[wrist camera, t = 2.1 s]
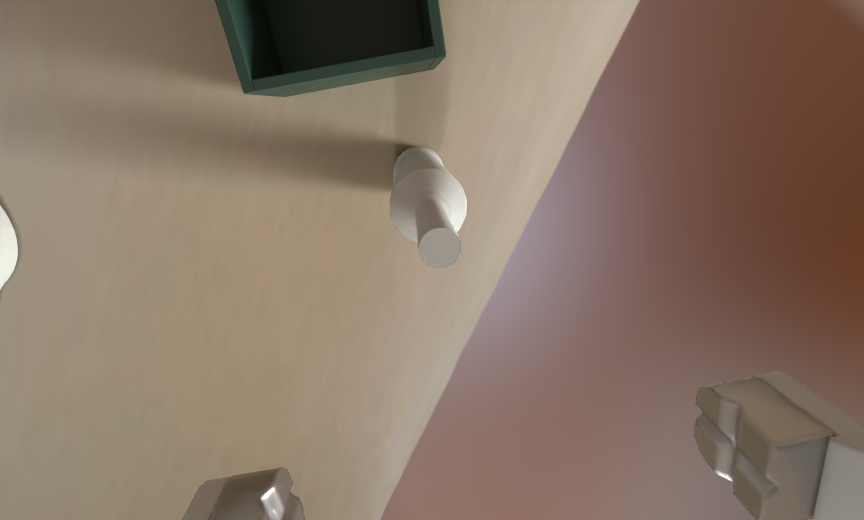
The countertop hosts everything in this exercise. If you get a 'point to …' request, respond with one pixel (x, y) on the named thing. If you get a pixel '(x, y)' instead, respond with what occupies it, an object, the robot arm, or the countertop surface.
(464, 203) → the bottle
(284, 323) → the countertop surface
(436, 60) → the bin
